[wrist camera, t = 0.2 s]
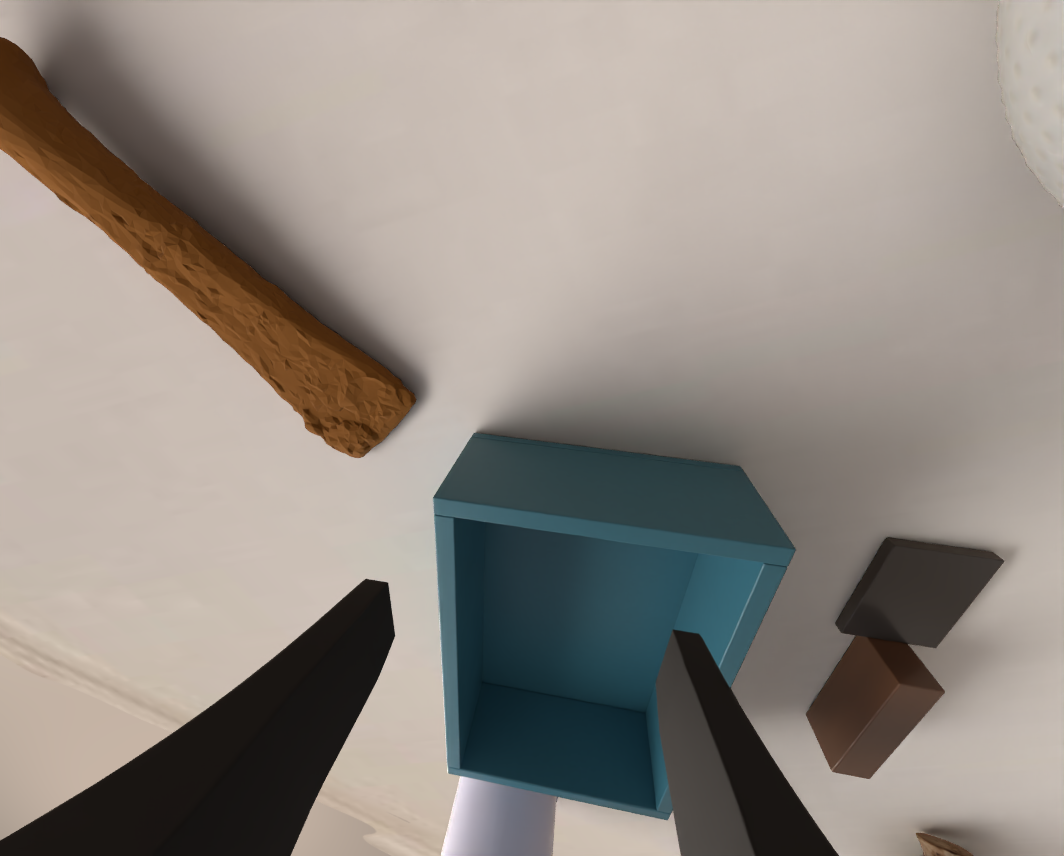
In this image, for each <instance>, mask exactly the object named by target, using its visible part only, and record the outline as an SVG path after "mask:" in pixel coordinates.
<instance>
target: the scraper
mask: <svg viewBox="0 0 1064 856" xmlns="http://www.w3.org/2000/svg"><path fill="white" fill-rule="evenodd" d="M1003 563H1004V560H1003V559H1002V558H1000V557H999V556H998V555H996V554H995V553H994V552H989V551H982V550H975V549H967V548H960V547H953V546H945V545H938V544H931V543H924V542H916V541H909V540H902V539H895V538H886V539H885V541H884V542H883V544H882V546H881V547H880V549H879V551H878V552H877V554H876V556H875V557H874V559H873V561H872V562H871V564H870V566H869V568H868V569H867V571H866V573H865V574H864V576H863V578H862V579H861V581H860V583H859V584H858V586H857V588H856V589H855V591H854V593H853V594H852V596H851V598H850V600H849V601H848V603H847V605H846V606H845V608H844V610H843V611H842V613H841V615H840V616H839V618H838V620H837V621H836V626H837V627H838V629H839V630H840V632H841V633H845V634H851V635H856V637H855V639H854V640H853V642H852V643H851V645H850V646H849V648H848V650H847V651H846V653H845V654H844V656H843V657H842V659H841V660H840V662H839V664H838V665H837V667H836V668H835V670H834V671H833V673H832V674H831V676H830V678H829V679H828V681H827V682H826V684H825V685H824V687H823V688H822V690H821V692H820V693H819V695H818V696H817V698H816V699H815V701H814V703H813V704H812V706H811V707H810V709H809V710H808V712H807V713H806V716H807V718H808V720H809V723H810V725H811V727H812V729H813V731H814V734H815V736H816V738H817V740H818V742H819V745H820V747H821V749H822V751H823V753H824V756H825V758H826V760H827V762H828V764H829V767H830V769H831V771H832V772H835V773H840V774H846V775H851V776H856V777H861V778H866V779H870V778H871V777H872V776H873V774H874V773H875V772H876V771H877V770H878V769H879V768H880V766H881V765H882V764H883V763H884V762H885V761H886V760H887V758H888V757H889V756H890V755H891V754H892V753H893V752H894V750H895V749H896V748H897V747H898V746H899V745H900V743H901V742H902V741H903V740H904V739H905V738H906V737H907V735H908V734H909V733H910V732H911V731H912V730H913V729H914V727H915V726H916V725H917V724H918V723H919V722H920V721H921V719H922V718H923V717H924V716H925V715H926V714H927V713H928V711H929V710H930V709H931V708H932V707H933V706H934V704H935V703H936V702H937V701H938V700H939V699H940V698H941V696H942V695H943V694H944V693H945V691H944V689H943V688H942V687H941V685H940V684H939V683H938V682H937V680H936V679H935V678H934V677H933V675H932V674H931V673H930V672H929V670H928V669H927V668H926V667H925V665H924V664H923V663H922V661H921V660H920V659H919V658H918V656H917V655H916V654H915V653H914V651H913V650H912V649H911V648H910V646H909V645H908V644H913V645H919V646H925V647H931V648H937V646H938V645H939V644H940V642H941V641H942V640H943V639H944V637H945V636H946V635H947V634H948V632H949V631H950V630H951V629H952V627H953V626H954V625H955V624H956V622H957V621H958V620H959V618H960V617H961V616H962V615H963V613H964V612H965V611H966V610H967V608H968V607H969V606H970V605H971V603H972V602H973V601H974V599H975V598H976V597H977V596H978V594H979V593H980V592H981V591H982V589H983V588H984V587H985V586H986V584H987V583H988V582H989V581H990V579H991V578H992V577H993V575H994V574H995V573H996V572H997V570H998V569H999V568H1000V567H1001V565H1002V564H1003Z"/></svg>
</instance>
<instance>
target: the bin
mask: <svg viewBox="0 0 1064 856" xmlns="http://www.w3.org/2000/svg"><path fill="white" fill-rule="evenodd" d="M433 504H434V524H435V543H436V562H437V582H438V601H439V620H440V639H441V658H442V678H443V697H444V716H445V735H446V754H447V770H448V773H449V774H454V775H458V776H463V777H468V778H472V779H477V780H482V781H486V782H491V783H496V784H500V785H505V786H510V787H514V788H519V789H524V790H528V791H533V792H538V793H542V794H547V795H552V796H556V797H561V798H566V799H570V800H575V801H580V802H584V803H589V804H594V805H598V806H603V807H608V808H612V809H617V810H622V811H626V812H631V813H636V814H640V815H645V816H650V817H654V818H659V819H664V820H668V819H669V817H670V815H671V813H672V811H673V807H672V801H671V796H670V790H669V784H668V779H667V773H666V767H665V761H664V756H663V750H662V744H661V738H660V732H659V720H658V709H657V695H656V679H657V676H658V673H659V670H660V667H661V664H662V661H663V658H664V655H665V652H666V649H667V645H668V642H669V639H670V636H671V633H672V630H673V629H674V630H680V631H686V632H692V633H698V634H700V636H701V637H702V638H703V640H704V642H705V644H706V646H707V647H708V649H709V651H710V653H711V655H712V657H713V658H714V660H715V662H716V664H717V666H718V667H719V669H720V671H721V673H722V675H723V676H724V678H725V680H726V682H727V683H728V685H729V687H730V688H731V686H732V684H733V682H734V680H735V677H736V675H737V673H738V671H739V669H740V667H741V665H742V663H743V660H744V658H745V656H746V654H747V652H748V650H749V648H750V646H751V644H752V641H753V639H754V637H755V635H756V633H757V631H758V629H759V627H760V625H761V622H762V620H763V618H764V616H765V614H766V612H767V610H768V608H769V605H770V603H771V601H772V599H773V597H774V595H775V593H776V591H777V589H778V586H779V584H780V582H781V580H782V578H783V576H784V574H785V572H786V570H787V566H789V563H790V561H791V559H792V557H793V555H794V553H795V551H796V549H795V547H794V546H793V544H792V543H791V541H790V540H789V538H788V537H787V535H786V534H785V532H784V531H783V529H782V528H781V526H780V525H779V523H778V522H777V520H776V519H775V517H774V516H773V514H772V513H771V511H770V510H769V508H768V507H767V505H766V504H765V502H764V501H763V499H762V498H761V496H760V495H759V493H758V492H757V490H756V489H755V487H754V486H753V484H752V483H751V481H750V480H749V478H748V477H747V475H746V474H745V472H744V471H743V469H742V468H741V467H740V466H736V465H728V464H720V463H712V462H704V461H696V460H688V459H680V458H672V457H664V456H656V455H648V454H640V453H632V452H624V451H616V450H608V449H600V448H592V447H584V446H576V445H568V444H560V443H552V442H544V441H536V440H528V439H520V438H512V437H504V436H496V435H488V434H480V433H474V434H473V435H472V437H471V438H470V440H469V442H468V443H467V445H466V446H465V448H464V450H463V451H462V453H461V454H460V456H459V457H458V459H457V461H456V462H455V464H454V465H453V467H452V468H451V470H450V472H449V473H448V475H447V476H446V478H445V480H444V481H443V483H442V484H441V486H440V487H439V489H438V491H437V492H436V494H435V495H434V497H433Z"/></svg>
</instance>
